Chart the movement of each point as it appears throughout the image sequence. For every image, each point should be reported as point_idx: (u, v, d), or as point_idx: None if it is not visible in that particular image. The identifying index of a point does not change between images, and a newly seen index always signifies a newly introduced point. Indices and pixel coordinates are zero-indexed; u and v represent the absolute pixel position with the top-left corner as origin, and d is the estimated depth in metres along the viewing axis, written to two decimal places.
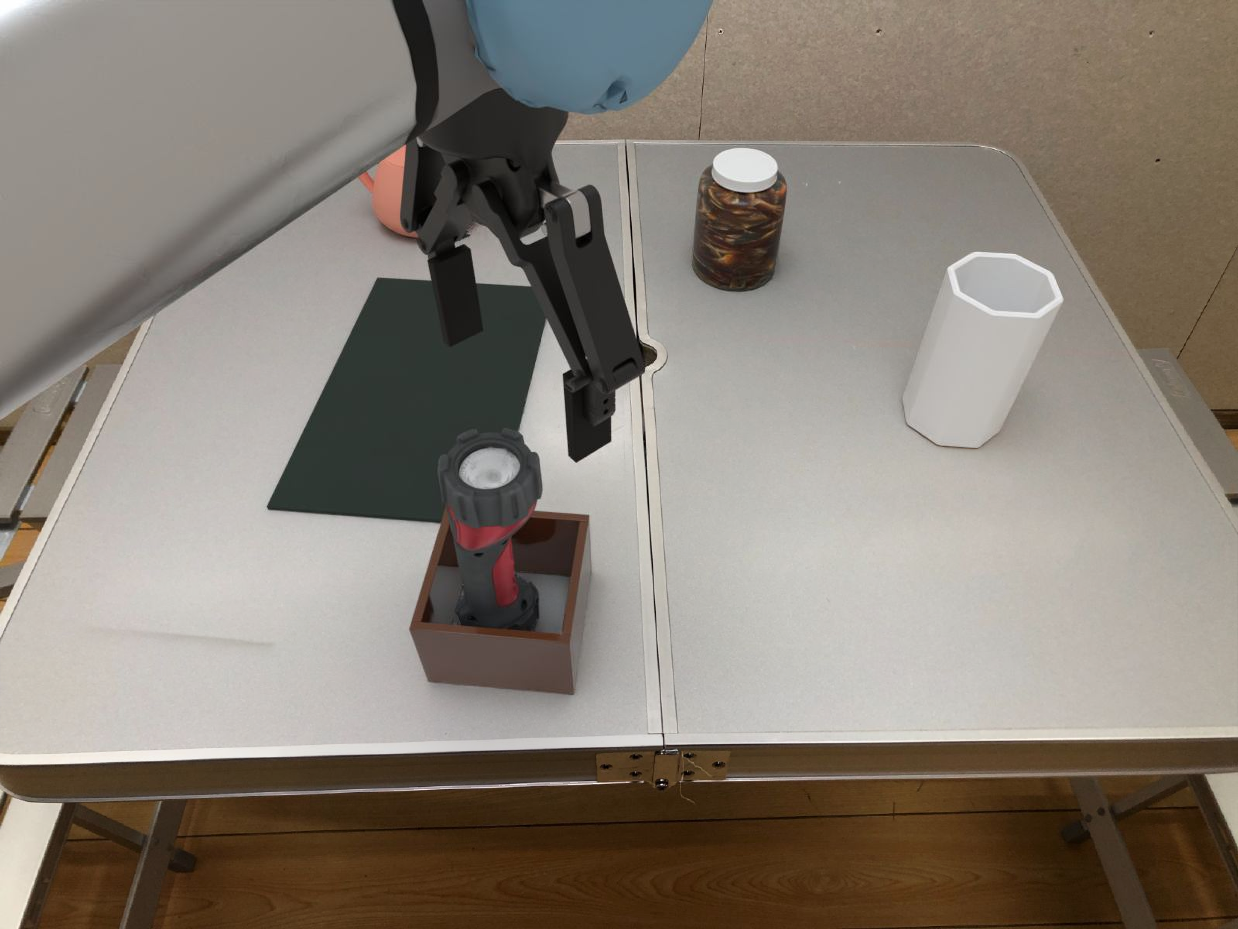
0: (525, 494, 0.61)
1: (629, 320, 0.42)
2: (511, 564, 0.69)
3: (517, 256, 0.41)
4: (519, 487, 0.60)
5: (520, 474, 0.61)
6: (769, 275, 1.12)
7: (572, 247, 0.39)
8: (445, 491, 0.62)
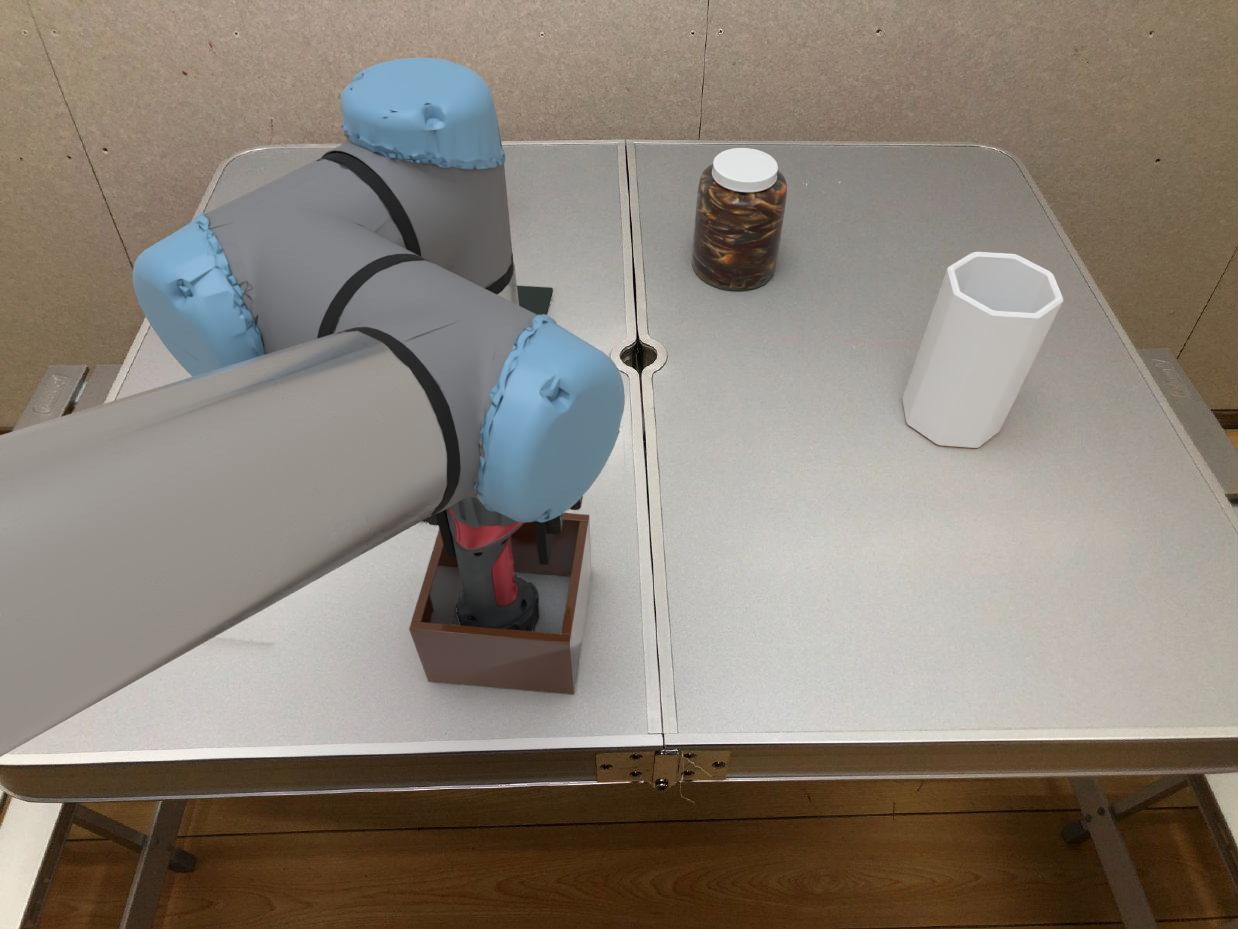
0: None
1: None
2: (510, 564, 0.69)
3: None
4: None
5: None
6: (769, 275, 1.12)
7: None
8: None
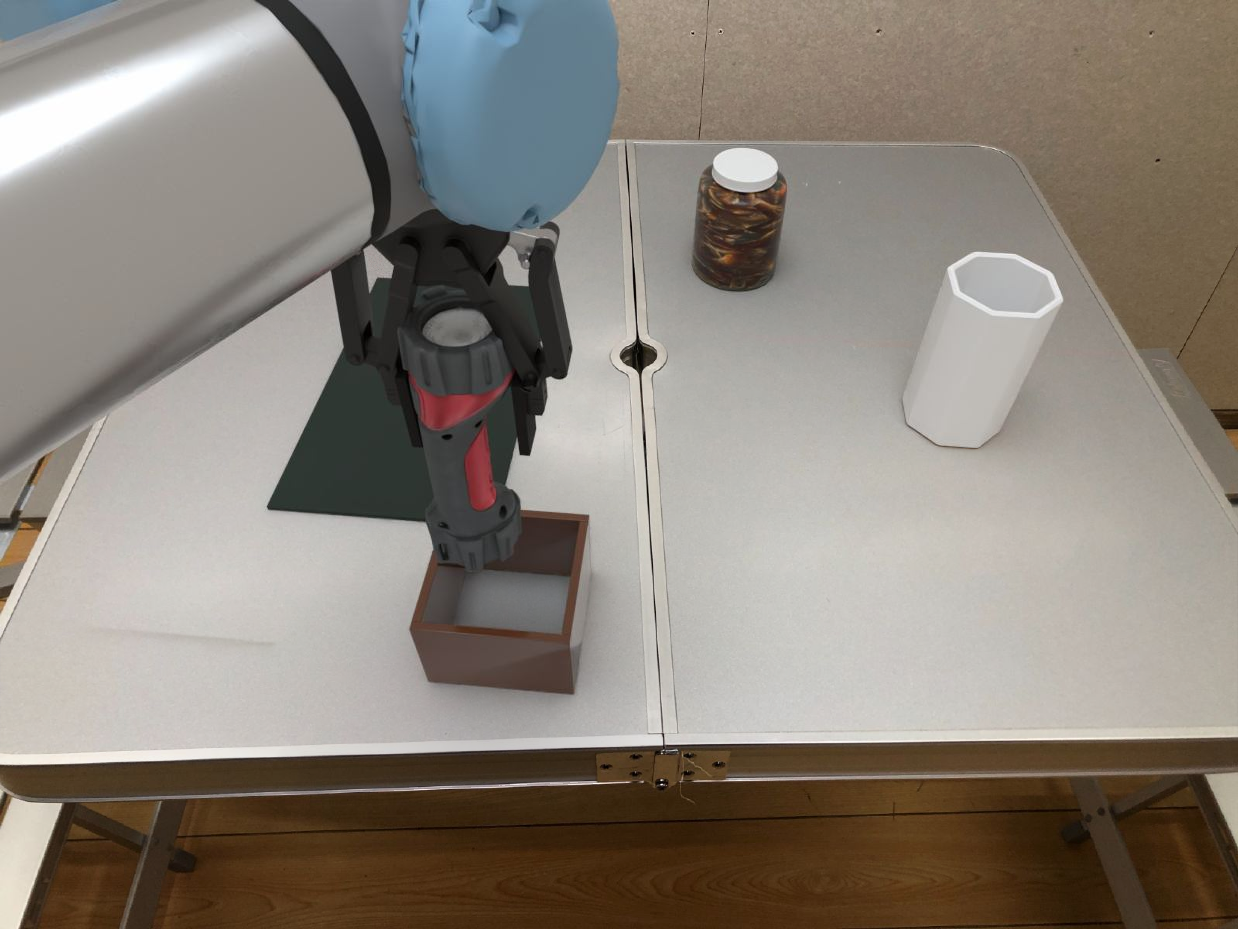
0: (500, 356, 0.51)
1: (565, 317, 0.52)
2: (487, 456, 0.59)
3: (488, 298, 0.48)
4: (492, 343, 0.50)
5: None
6: (769, 275, 1.12)
7: (549, 274, 0.48)
8: (406, 354, 0.52)
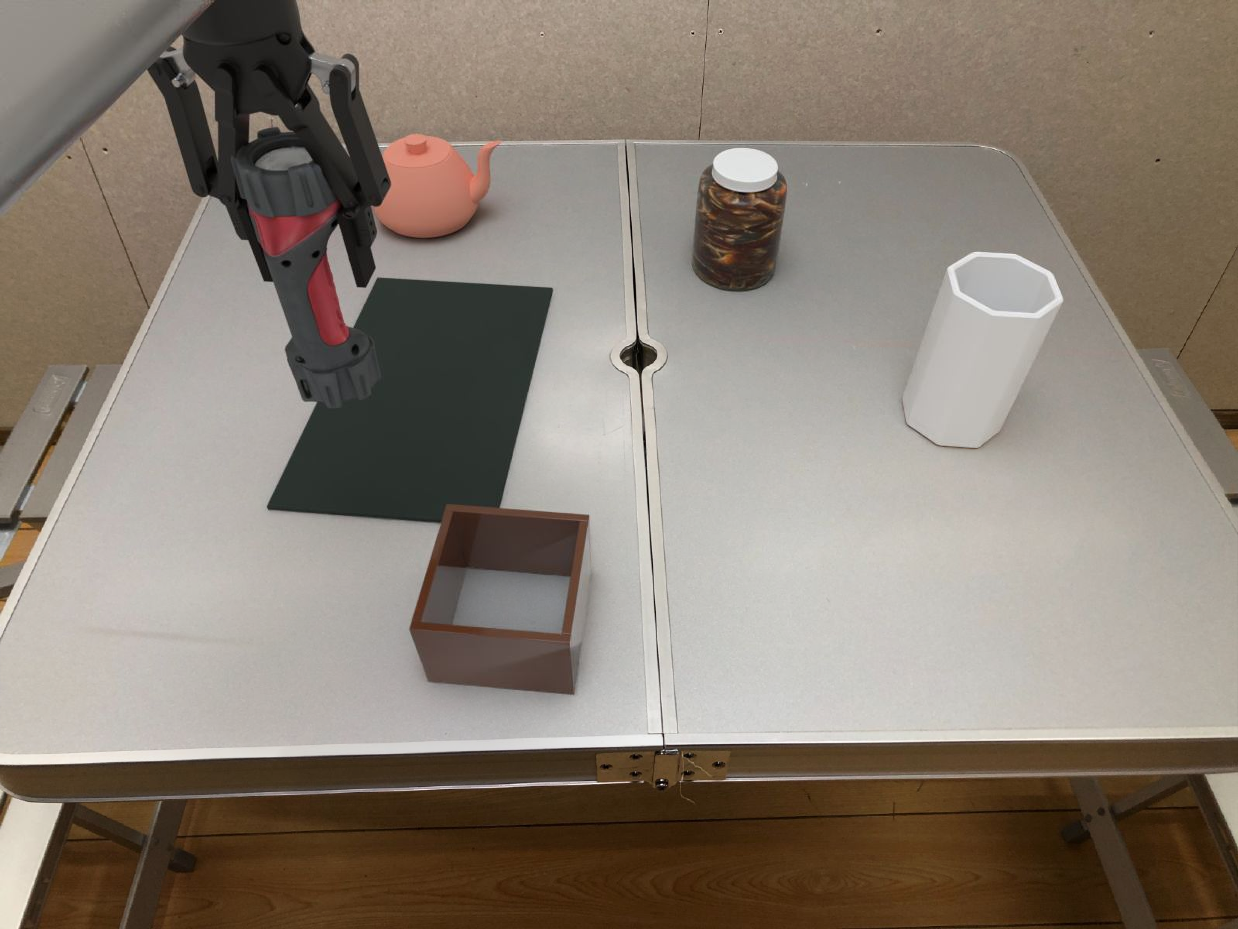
0: (320, 181, 0.59)
1: (378, 150, 0.60)
2: (330, 290, 0.67)
3: (298, 122, 0.56)
4: (309, 166, 0.58)
5: None
6: (769, 275, 1.12)
7: (350, 100, 0.56)
8: (241, 182, 0.60)
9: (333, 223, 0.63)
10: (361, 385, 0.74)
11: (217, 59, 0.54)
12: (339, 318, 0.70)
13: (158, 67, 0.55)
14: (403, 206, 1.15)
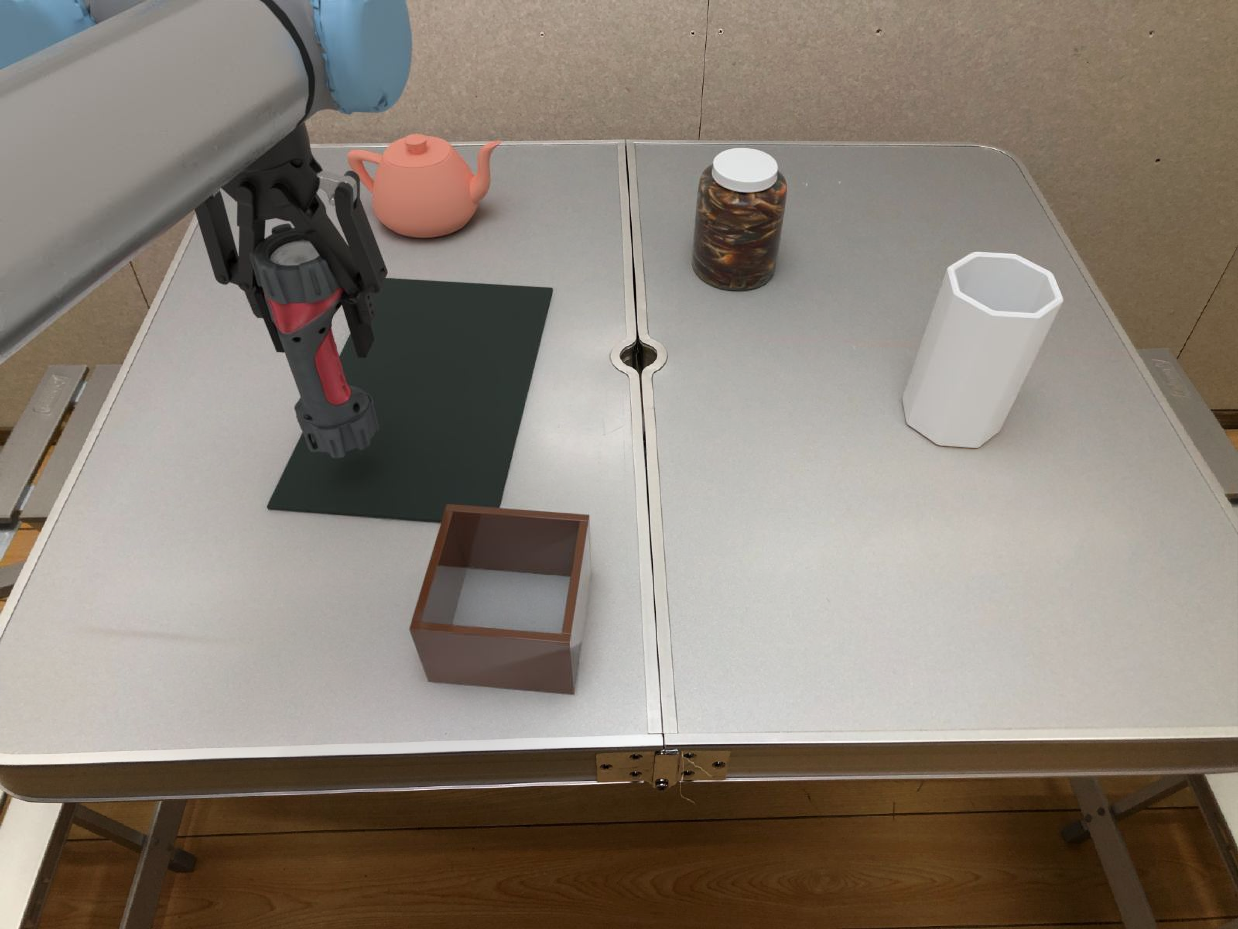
0: (326, 273, 0.69)
1: (377, 245, 0.70)
2: (335, 359, 0.77)
3: (308, 227, 0.66)
4: (317, 262, 0.68)
5: None
6: (769, 275, 1.12)
7: (352, 210, 0.65)
8: (258, 273, 0.70)
9: (337, 304, 0.73)
10: (361, 437, 0.84)
11: (239, 178, 0.64)
12: (342, 381, 0.80)
13: None
14: (403, 206, 1.15)
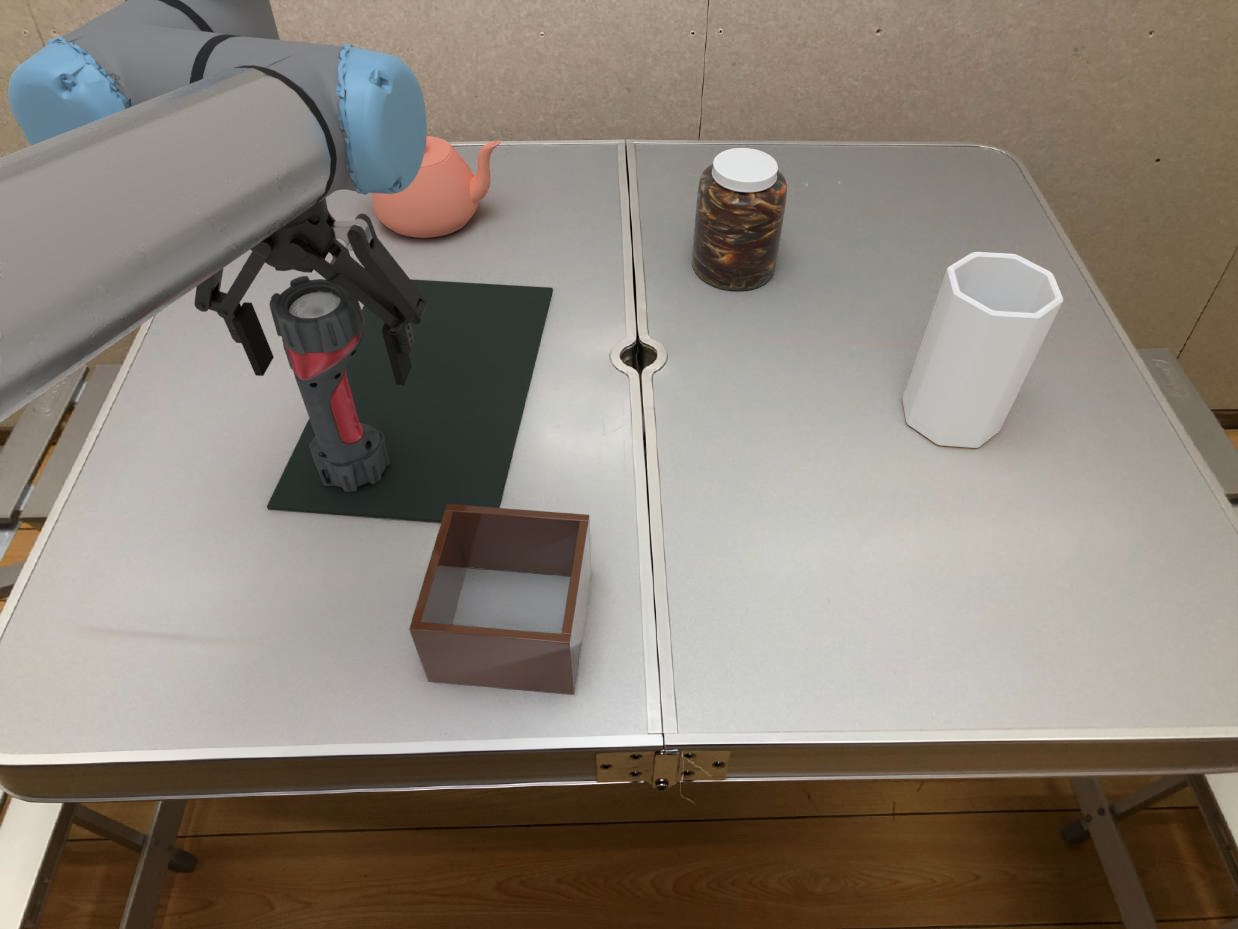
0: (343, 325, 0.73)
1: (408, 278, 0.72)
2: (349, 401, 0.81)
3: (332, 272, 0.69)
4: (334, 315, 0.72)
5: (338, 308, 0.73)
6: (769, 275, 1.12)
7: (370, 249, 0.68)
8: (277, 324, 0.74)
9: (352, 352, 0.77)
10: (373, 473, 0.88)
11: None
12: (355, 421, 0.83)
13: None
14: (403, 206, 1.15)
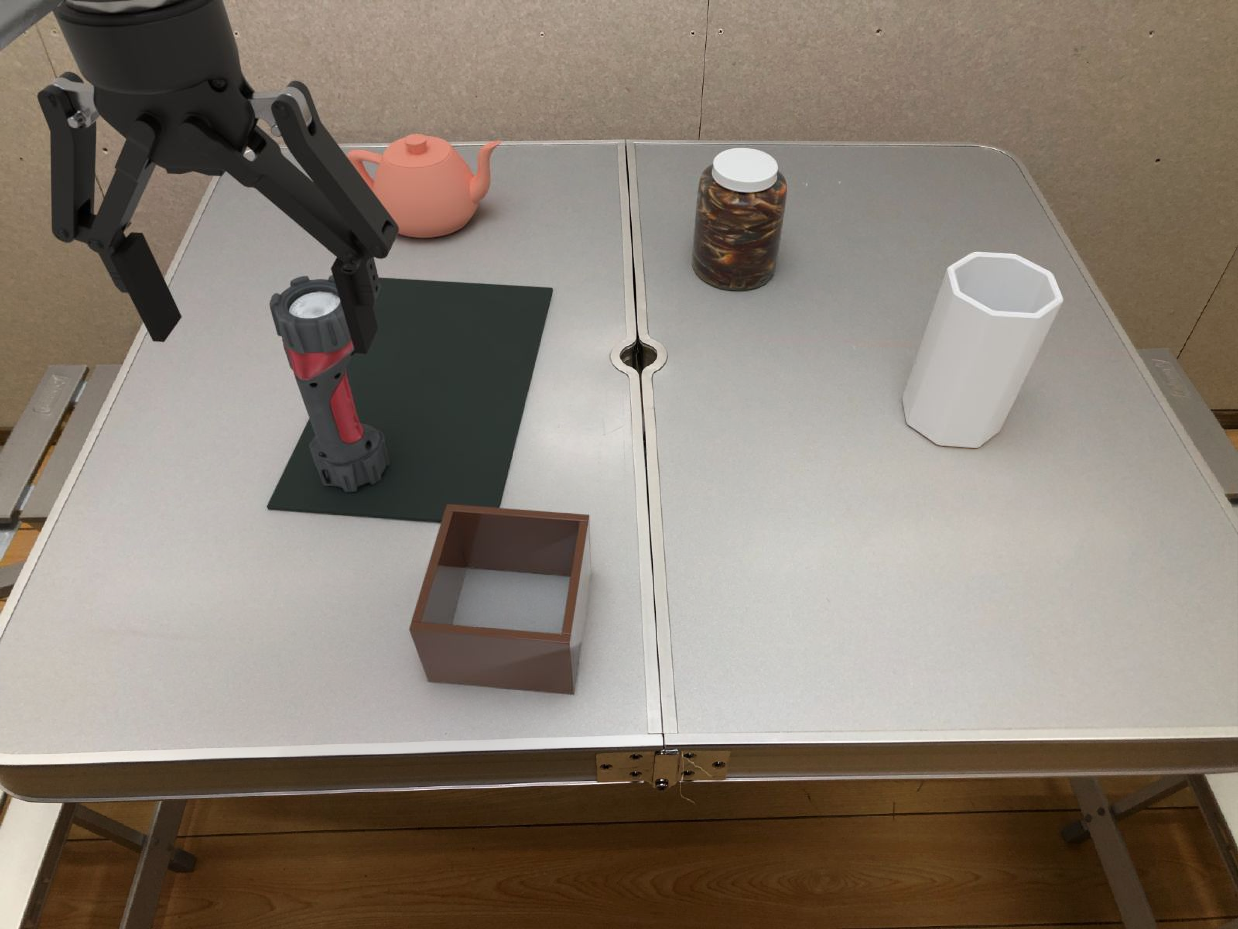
0: (343, 325, 0.73)
1: (370, 190, 0.49)
2: (349, 401, 0.81)
3: (252, 173, 0.45)
4: (334, 315, 0.72)
5: (338, 308, 0.73)
6: (769, 275, 1.12)
7: (308, 136, 0.44)
8: (277, 324, 0.74)
9: (352, 352, 0.77)
10: (373, 473, 0.88)
11: None
12: (355, 421, 0.83)
13: (54, 100, 0.43)
14: (403, 206, 1.15)
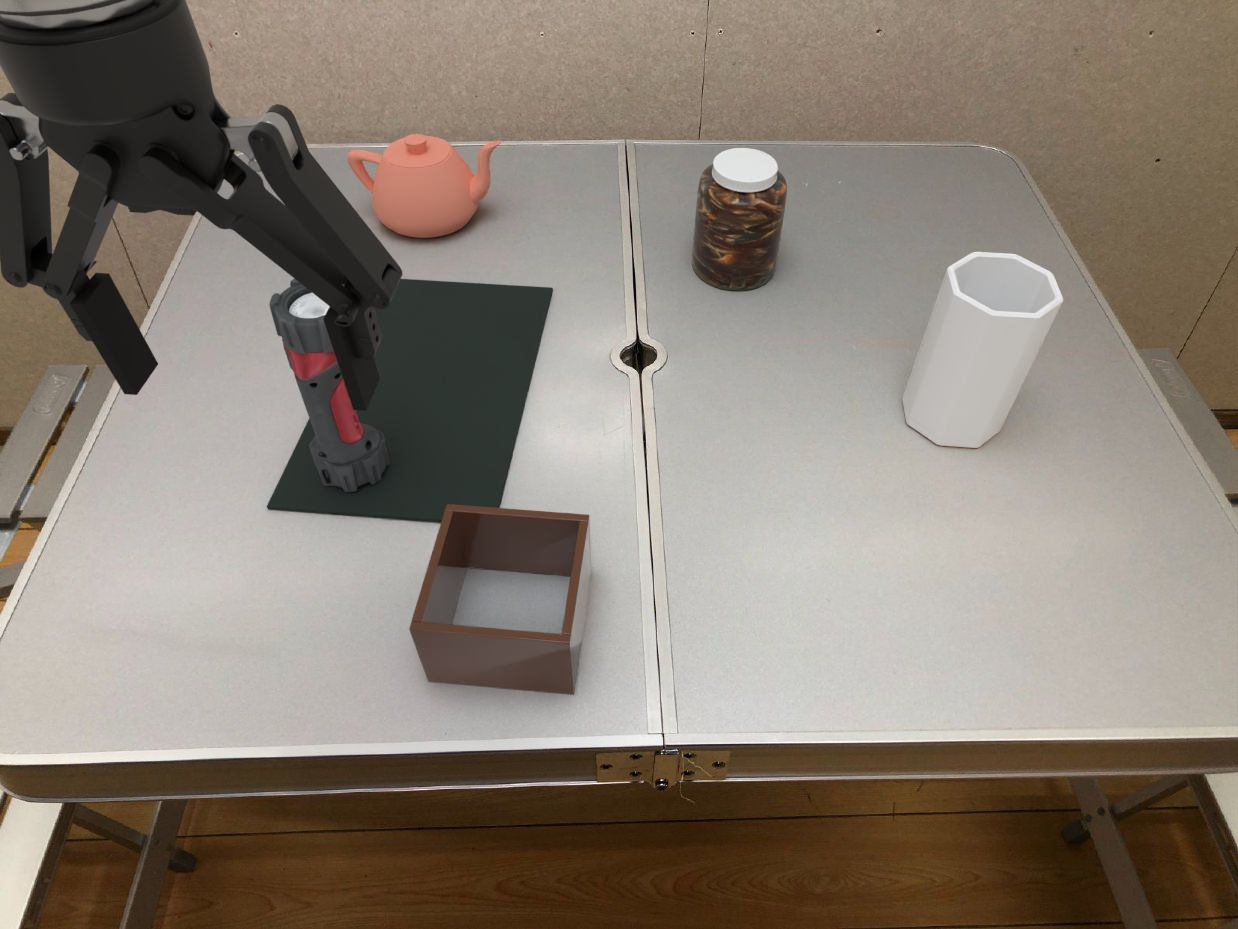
0: None
1: (368, 229, 0.41)
2: (349, 401, 0.81)
3: (228, 213, 0.38)
4: None
5: None
6: (769, 275, 1.12)
7: (293, 170, 0.37)
8: (277, 324, 0.74)
9: None
10: (373, 473, 0.88)
11: None
12: (355, 421, 0.83)
13: None
14: (403, 206, 1.15)
